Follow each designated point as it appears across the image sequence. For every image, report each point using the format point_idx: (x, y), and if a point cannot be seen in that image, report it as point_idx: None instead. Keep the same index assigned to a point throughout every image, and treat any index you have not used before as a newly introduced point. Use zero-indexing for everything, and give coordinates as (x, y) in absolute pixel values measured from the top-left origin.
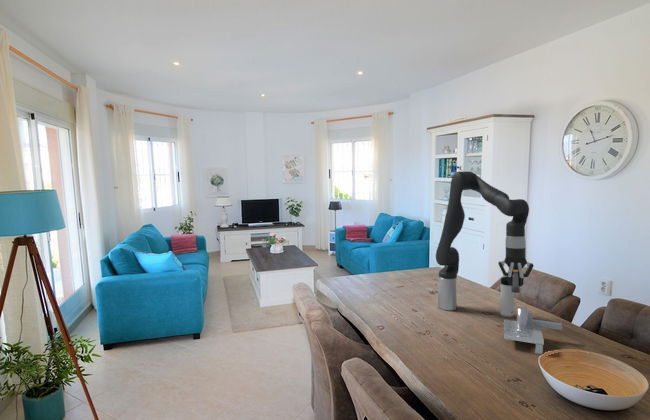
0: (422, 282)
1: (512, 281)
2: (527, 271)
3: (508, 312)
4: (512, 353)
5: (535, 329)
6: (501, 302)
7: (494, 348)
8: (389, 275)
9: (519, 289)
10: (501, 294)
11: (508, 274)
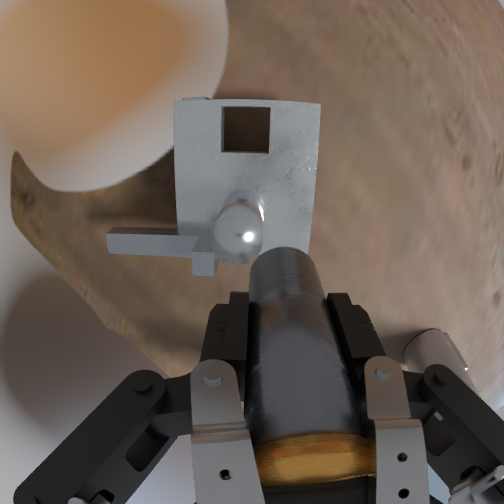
0: None
1: (331, 322)
2: (116, 442)
3: None
4: (286, 75)
5: (194, 195)
6: None
7: (341, 94)
8: None
9: (251, 279)
10: None
11: (401, 386)
